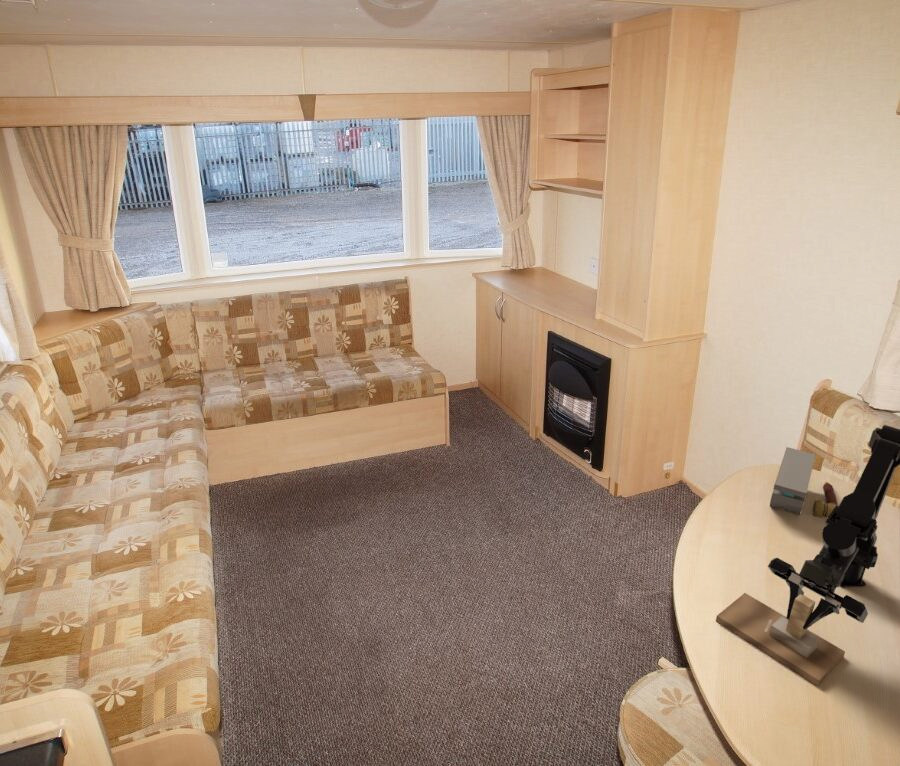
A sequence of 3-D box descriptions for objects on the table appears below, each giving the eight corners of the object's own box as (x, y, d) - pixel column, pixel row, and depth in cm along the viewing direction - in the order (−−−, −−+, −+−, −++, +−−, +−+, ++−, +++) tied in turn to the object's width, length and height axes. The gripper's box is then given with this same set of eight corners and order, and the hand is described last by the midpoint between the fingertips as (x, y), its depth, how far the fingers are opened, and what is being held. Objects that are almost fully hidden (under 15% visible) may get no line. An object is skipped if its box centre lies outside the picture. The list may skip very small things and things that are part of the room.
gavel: (810, 472, 197) (847, 479, 194) (806, 485, 199) (843, 493, 195) (816, 504, 179) (858, 513, 176) (813, 518, 181) (853, 527, 177)
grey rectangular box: (796, 527, 176) (806, 493, 172) (765, 517, 180) (774, 484, 176) (806, 485, 196) (815, 454, 191) (778, 477, 200) (786, 447, 195)
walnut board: (715, 620, 144) (716, 615, 143) (743, 597, 150) (744, 592, 150) (817, 686, 128) (819, 680, 127) (843, 656, 135) (845, 651, 134)
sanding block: (769, 634, 138) (780, 594, 134) (779, 624, 141) (791, 585, 136) (806, 658, 132) (820, 616, 128) (817, 647, 135) (830, 606, 131)
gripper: (782, 525, 137) (744, 588, 135) (878, 573, 123) (837, 644, 121) (791, 542, 144) (755, 601, 142) (883, 588, 131) (845, 655, 129)
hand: (795, 623), depth 134 cm, fingers closed on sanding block, 3 cm apart
